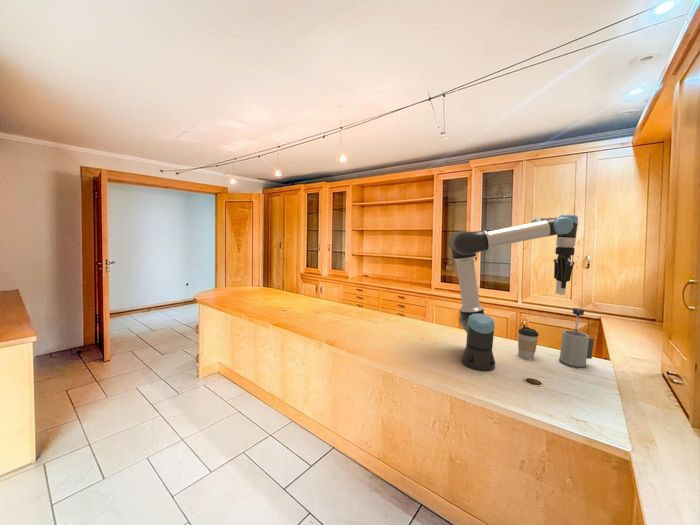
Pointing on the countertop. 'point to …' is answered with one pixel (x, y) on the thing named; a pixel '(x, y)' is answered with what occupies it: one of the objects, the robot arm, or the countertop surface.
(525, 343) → the coffee cup
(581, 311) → the plunger
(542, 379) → the countertop surface
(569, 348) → the press beaker
